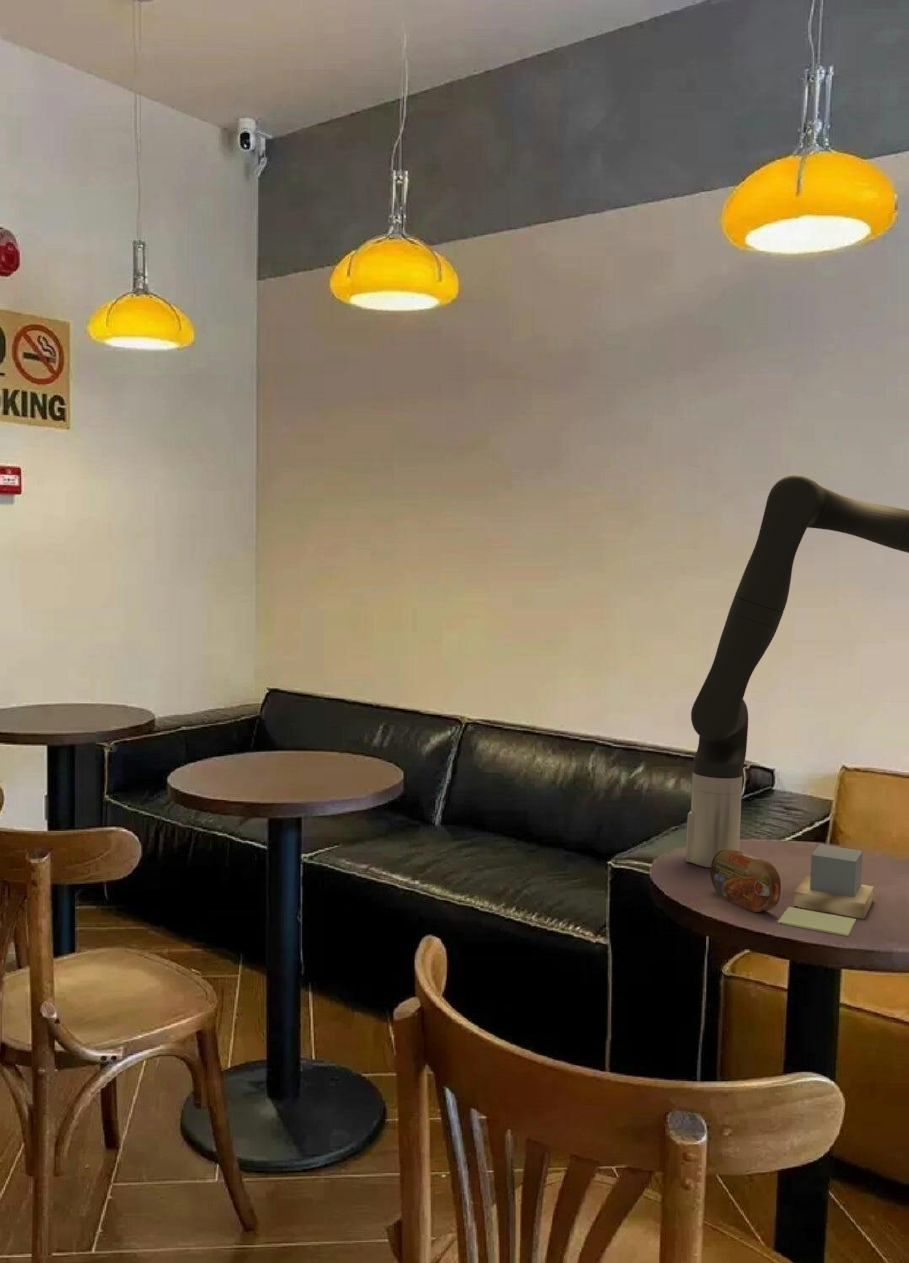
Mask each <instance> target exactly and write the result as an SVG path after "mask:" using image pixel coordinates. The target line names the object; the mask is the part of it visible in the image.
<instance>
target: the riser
mask: <svg viewBox="0 0 909 1263" xmlns="http://www.w3.org/2000/svg"><path fill="white" fill-rule="evenodd" d="M810 877H811V875H806V876H805V878H804V879H803V880H802V882H801V883H800V884H799V885H798V886H797V888H796V889H795V891H794V898H793V907H795V906H798V907H797V908H800V907H801V908H800V909H806V908H807V909H806V910H810V911H816V912H822V913H828V912H829V913H828V914H833V915H838V916H844V917H850V918H855V919H856V918H857V919H862V920H864V919H866V917H867V915H868V912H869V911H870V908H871V906H872V905H873V902H874V894H875V892H874V891H875V886H872V885H865V884H861V886H860V888H859V890H858V892H857V893H856V895H855V897H848V896H842V895H837V894H831V893H825V892H819V891H813V890H810Z"/></svg>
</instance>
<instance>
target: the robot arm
mask: <svg viewBox="0 0 909 1263" xmlns="http://www.w3.org/2000/svg"><path fill="white" fill-rule="evenodd" d="M807 529H817V530H818V529H819V530H827V531H833V532H838V533H843V534H846V535H850V536H855V537H857V538H859V539H863V540H867V541H870V542H872V543H875V544H878V545H881V546H882V547H883V546H884V547H887V548H889V549H893V550H896V551H899V552H900V551H901V552H903V553H906V554H909V510H908V509H904V508H899V507H895V506H894V507H893V506H887V505H882V504H877V503H870V502H865V501H861V500H858V499H854V498H850V497H847V496H844V495H841V494H839V493H838V492H834V491H832V490H830V489H828V488H826V487H823V486H821V485H819V484H818V483H817V482H816V481H815V480H813V479H811V478H809V477H807V476H804V475H802V474H801V475H800V474H790V475H787V476H784V477H782V478H780V479H779V480H778V481H777V482H775V484H773V486H772V488H771V489H770V491H769V493H768V496H767V498H766V504H765V509H764V512H763V517H762V519H761V525H760V529H759V532H758V536H757V539H756V541H755V542H756V543H755V545H754V548H753V551H752V553H751V555H750V558H749V560H748V561H747V564H746V567H745V569H744V571H743V574H742V576H741V578H740V582H739V584H738V585H737V586H738V587H737V589H736V591H735V594H734V597H733V599H732V602H731V605H730V607H729V611H728V614H727V617H726V620H725V623H724V627H723V628H722V632H721V635H720V637H719V638H720V639H719V642H718V646H717V649H716V653H715V656H714V659H713V662H712V664H711V667H710V669H709V671H708V674H707V676H706V678H705V680H704V682H703V683H702V684H703V685H702V686H701V688H700V691H698V692H699V693H697V694H698V695H697V697H696V698H695V701H694V702H693V704H692V707H691V711H690V720H691V724H692V727H693V729H694V731H695V733H696V734H697V735H698V736H699V737H698V745H697V749H696V753H695V756H693V762H692V778H691V780H692V782H691V783H692V784H691V807H690V811H689V812H687V822H686V823H687V825H686V844H685V846H686V847H685V849H686V851H685V862H687V863H691V864H694V865H697V866H700V867H703V868H709V869H711V863H712V860H713V858H714V856H715V855H716V853H718V852H719V851H721V850H736V851H740V838H741V837H740V835H741V816H742V815H741V813H742V811H741V810H742V795H743V793H742V788H743V773H744V772H743V770H744V764H745V761H746V757H747V756H746V755H747V743H748V735H749V734H748V731H749V710H748V706H747V703H746V702H745V699H744V696H745V693H746V692H747V691H746V690H747V686H748V684H749V681H750V679H751V676H752V675H753V672H754V670H755V669H756V667H758V666H757V665H758V664H759V663H760V661H761V660H762V658H763V656H764V655H765V653H766V651H767V649H768V648H769V646H770V645H771V642H772V640H773V639H774V637H775V635H776V633H777V630H778V629H779V628H778V627H779V625H780V622H781V620H782V617H783V614H784V611H785V609H786V606H787V602H788V597H789V594H790V588H791V581H792V580H791V579H792V572H793V566H794V562H795V557H796V554H797V551H798V548H799V546H800V544H801V542H802V539H803V537H804V536H805V533H806V531H807Z"/></svg>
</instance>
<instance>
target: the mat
mask: <svg viewBox="0 0 909 1263" xmlns="http://www.w3.org/2000/svg"><path fill="white" fill-rule="evenodd" d="M856 922H857V919H856V918H855V917H849V916H843V915H838V914H832V913H827V912H821V911H816V910H810V909H804V908H799V907H791V906H788V907H787V909H785V911H784V912H783V914H782V915H781V916H780V918H779V919H778V920H777V924H780V923H782V924H781V925H785V924H786V925H785V926H792V927H796V928H801V929H807V930H813V931H817V932H823V933H828V934H832V935H833V934H834V935H837V936H838V935H839V936H844V937H849V935H850V933H851V931H852V929H853V928H854V926H855V924H856Z"/></svg>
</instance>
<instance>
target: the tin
mask: <svg viewBox="0 0 909 1263" xmlns="http://www.w3.org/2000/svg"><path fill="white" fill-rule="evenodd" d="M709 869H710V880H711V884H712V887H713V888H714V890H715V892H716V894H717V895H718V896H719V897H720V898H721V897H722V898H721V899H723V900H725V901H727V902H730V901H731V902H730V903H733V904H735V905H737V906H739V907H742V908H743V909H746V910H748V911H751V912H754V913H759V912H766V911H771V910H773V909H774V908H775V907H777V905H778V904H779V901H780V898H781V889H782V886H781V884H782V881H781V876H780V874H779V872H778V870H777V869H776V867H775V866H774V865H773V864H772V863H770V862H769V861H767V860H764V859H761V858H758V857H756V856H753V855H751V854H748V853H745V852H742V851H740V850H739V851H736V850H721V851H719V852H718V853H716V855H715V856H714V858H713V860H712V863H711V868H709Z"/></svg>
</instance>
